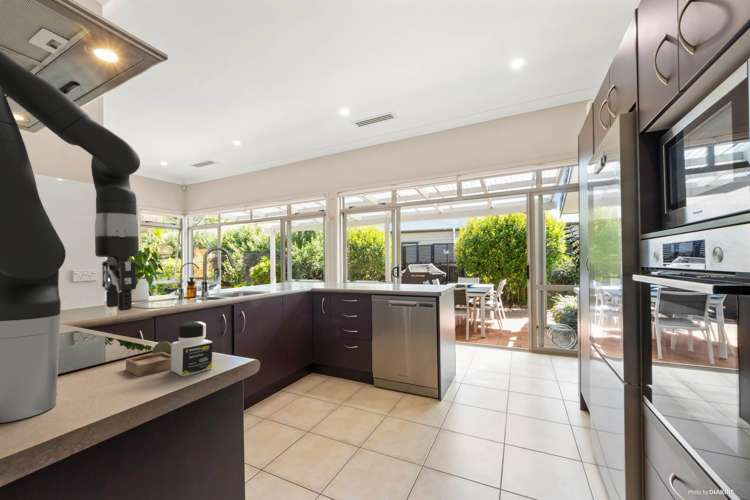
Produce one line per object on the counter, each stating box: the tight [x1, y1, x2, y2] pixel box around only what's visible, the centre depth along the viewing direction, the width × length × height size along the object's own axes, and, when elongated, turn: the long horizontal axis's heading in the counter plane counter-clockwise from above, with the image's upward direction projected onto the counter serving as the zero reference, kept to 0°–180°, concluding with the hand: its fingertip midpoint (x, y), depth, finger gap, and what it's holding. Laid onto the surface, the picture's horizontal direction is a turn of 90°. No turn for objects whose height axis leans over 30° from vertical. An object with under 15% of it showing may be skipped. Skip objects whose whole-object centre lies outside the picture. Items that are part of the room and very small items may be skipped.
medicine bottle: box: [170, 321, 213, 377], centre depth 82 cm, size 7×7×12 cm
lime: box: [151, 340, 172, 355], centre depth 91 cm, size 4×5×5 cm
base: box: [125, 352, 171, 378], centre depth 83 cm, size 8×8×3 cm
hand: (118, 308), depth 71 cm, fingers open, 8 cm apart
